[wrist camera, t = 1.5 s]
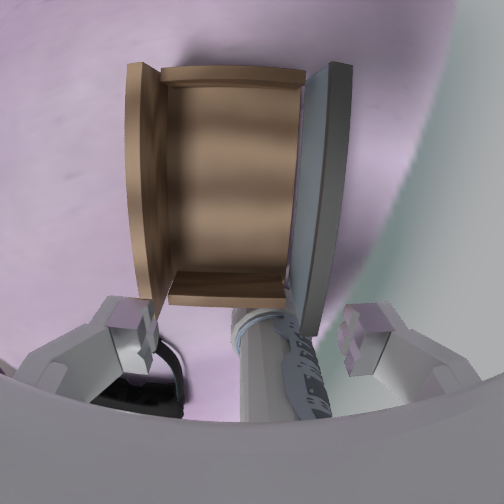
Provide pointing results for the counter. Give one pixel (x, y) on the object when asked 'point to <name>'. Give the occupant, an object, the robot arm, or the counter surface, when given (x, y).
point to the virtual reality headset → (148, 392)
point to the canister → (277, 366)
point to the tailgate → (319, 190)
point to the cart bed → (211, 182)
